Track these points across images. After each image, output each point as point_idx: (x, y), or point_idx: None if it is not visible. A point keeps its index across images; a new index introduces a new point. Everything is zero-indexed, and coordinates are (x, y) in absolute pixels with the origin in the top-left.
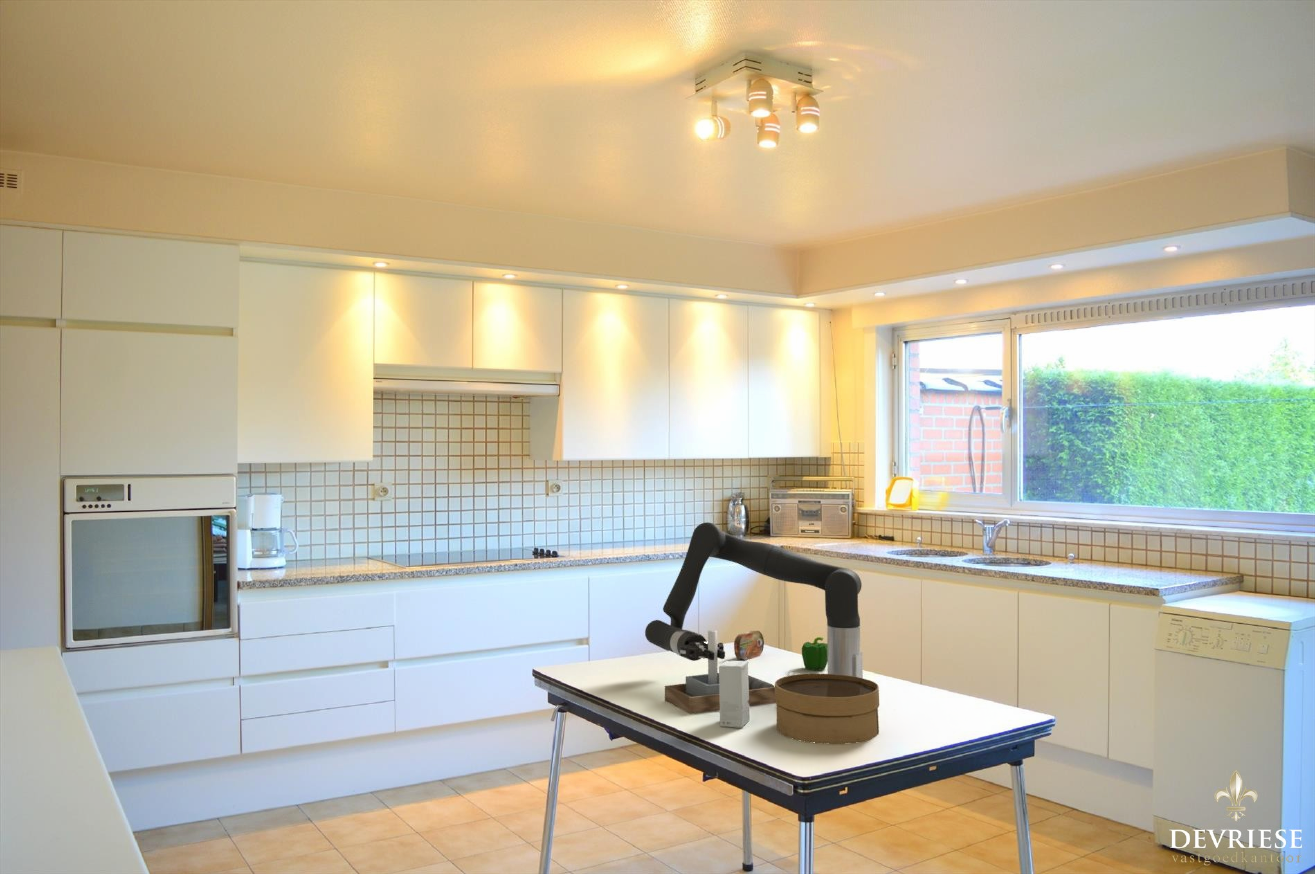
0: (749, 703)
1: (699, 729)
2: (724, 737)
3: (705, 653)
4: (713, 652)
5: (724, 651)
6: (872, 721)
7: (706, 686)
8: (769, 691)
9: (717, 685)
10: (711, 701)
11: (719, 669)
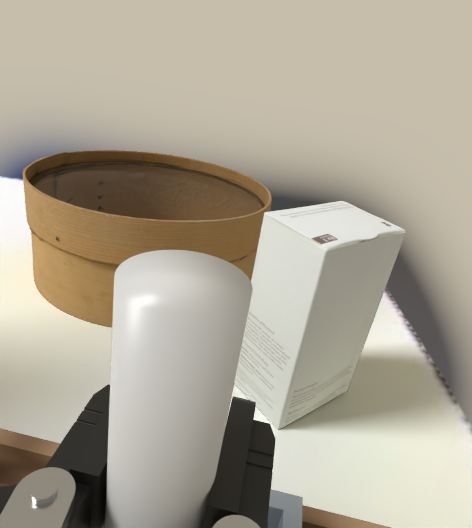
0: None
1: (415, 411)
2: (374, 344)
3: (268, 485)
4: (237, 397)
5: (97, 395)
6: (141, 203)
7: (300, 514)
8: None
9: None
10: None
11: (400, 240)
